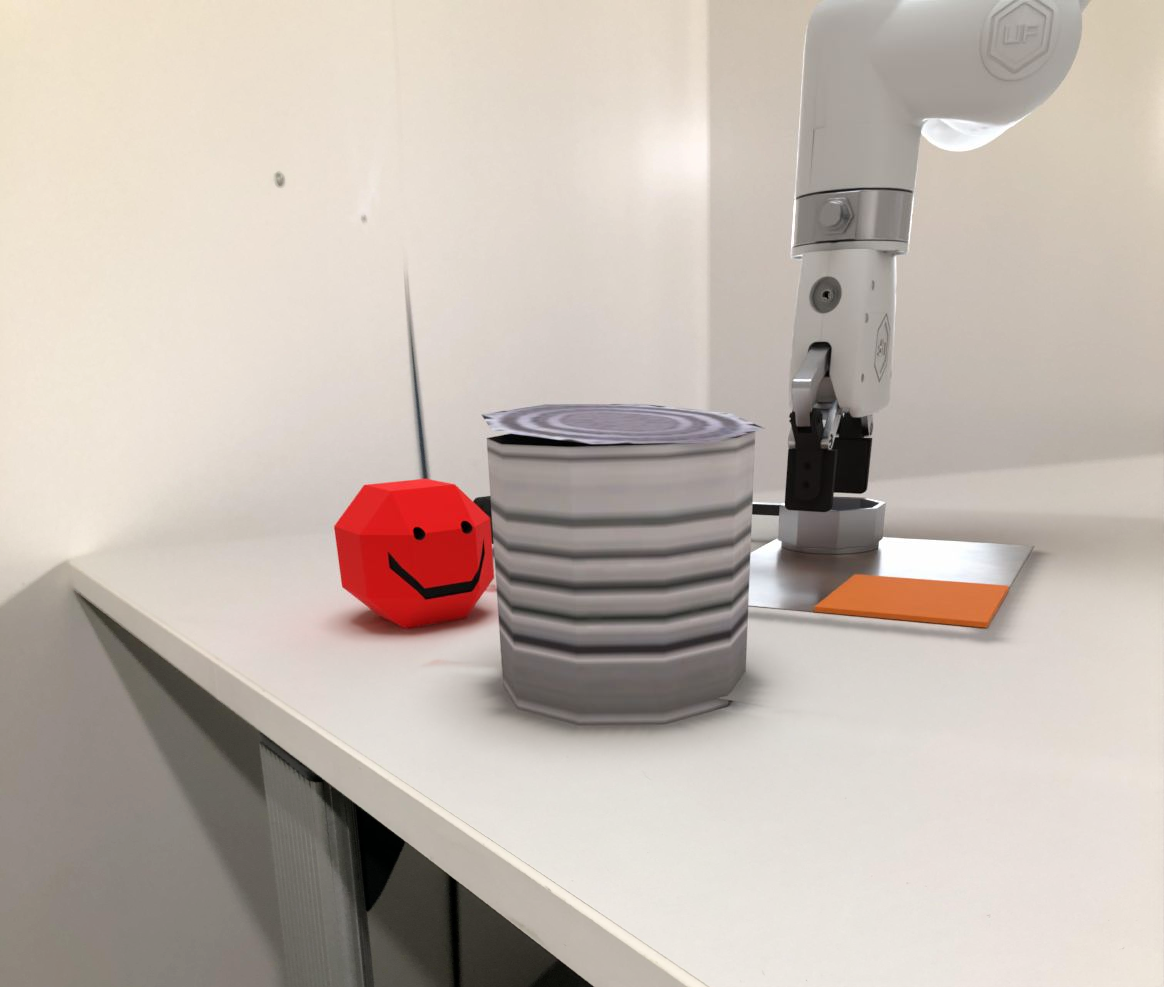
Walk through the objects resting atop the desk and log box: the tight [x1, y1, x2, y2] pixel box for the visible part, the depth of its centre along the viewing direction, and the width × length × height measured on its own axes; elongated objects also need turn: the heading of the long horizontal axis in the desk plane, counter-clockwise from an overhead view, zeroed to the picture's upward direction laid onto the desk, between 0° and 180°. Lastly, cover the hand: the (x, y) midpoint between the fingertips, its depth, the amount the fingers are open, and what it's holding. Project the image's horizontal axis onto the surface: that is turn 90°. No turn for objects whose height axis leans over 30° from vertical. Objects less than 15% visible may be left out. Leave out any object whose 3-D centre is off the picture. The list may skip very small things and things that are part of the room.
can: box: [481, 403, 766, 726], centre depth 42 cm, size 11×11×12 cm
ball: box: [333, 478, 495, 630], centre depth 55 cm, size 8×8×8 cm
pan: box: [752, 496, 887, 554], centre depth 71 cm, size 13×7×3 cm, turn 61°
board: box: [748, 536, 1035, 630], centre depth 63 cm, size 24×18×1 cm
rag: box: [814, 574, 1010, 628], centre depth 54 cm, size 9×9×1 cm
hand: (827, 500), depth 69 cm, fingers open, 9 cm apart
